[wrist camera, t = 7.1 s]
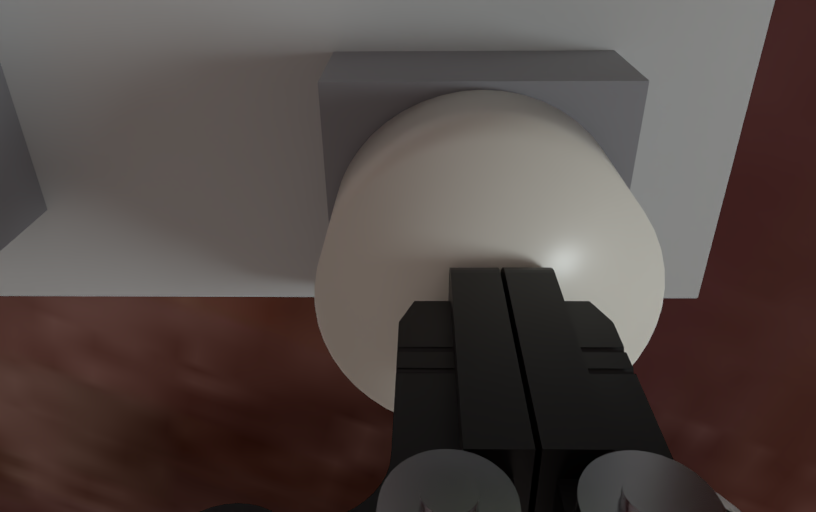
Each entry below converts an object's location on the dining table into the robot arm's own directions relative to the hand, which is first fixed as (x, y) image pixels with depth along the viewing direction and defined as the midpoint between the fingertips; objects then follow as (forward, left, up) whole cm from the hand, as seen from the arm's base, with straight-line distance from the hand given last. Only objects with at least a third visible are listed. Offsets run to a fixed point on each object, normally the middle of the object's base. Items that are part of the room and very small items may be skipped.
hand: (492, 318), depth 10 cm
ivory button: (0, 0, -5) cm, 5 cm away
